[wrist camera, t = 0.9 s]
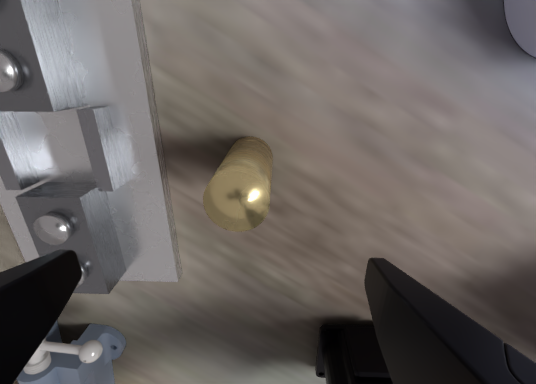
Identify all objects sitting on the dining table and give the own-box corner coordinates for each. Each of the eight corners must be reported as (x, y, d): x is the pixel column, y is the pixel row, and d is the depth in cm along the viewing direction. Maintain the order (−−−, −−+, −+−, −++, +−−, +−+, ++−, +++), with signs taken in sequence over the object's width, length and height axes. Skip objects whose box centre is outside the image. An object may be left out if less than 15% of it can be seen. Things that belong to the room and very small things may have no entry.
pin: (272, 179, 19) (269, 232, 13) (230, 178, 20) (206, 231, 13) (272, 136, 18) (269, 172, 12) (227, 136, 18) (199, 171, 12)
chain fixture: (182, 273, 23) (163, 312, 19) (42, 270, 23) (-3, 308, 20) (128, -68, 14) (75, -117, 10) (-94, -64, 15) (-222, -110, 11)
